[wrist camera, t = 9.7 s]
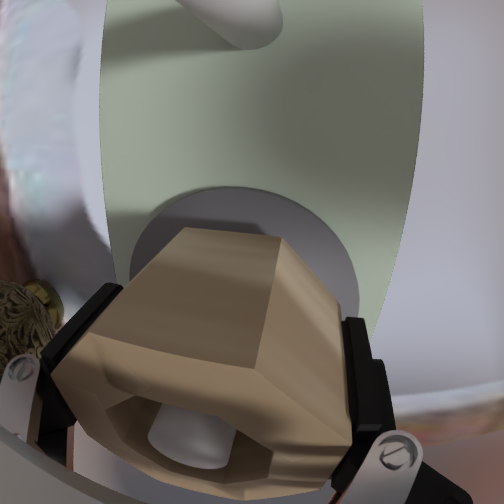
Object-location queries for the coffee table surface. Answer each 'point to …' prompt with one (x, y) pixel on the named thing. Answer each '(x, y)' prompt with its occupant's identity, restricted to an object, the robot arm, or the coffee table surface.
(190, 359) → the collar
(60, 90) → the coffee table surface
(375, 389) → the robot arm
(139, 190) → the hub board
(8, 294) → the fiber plant pot
